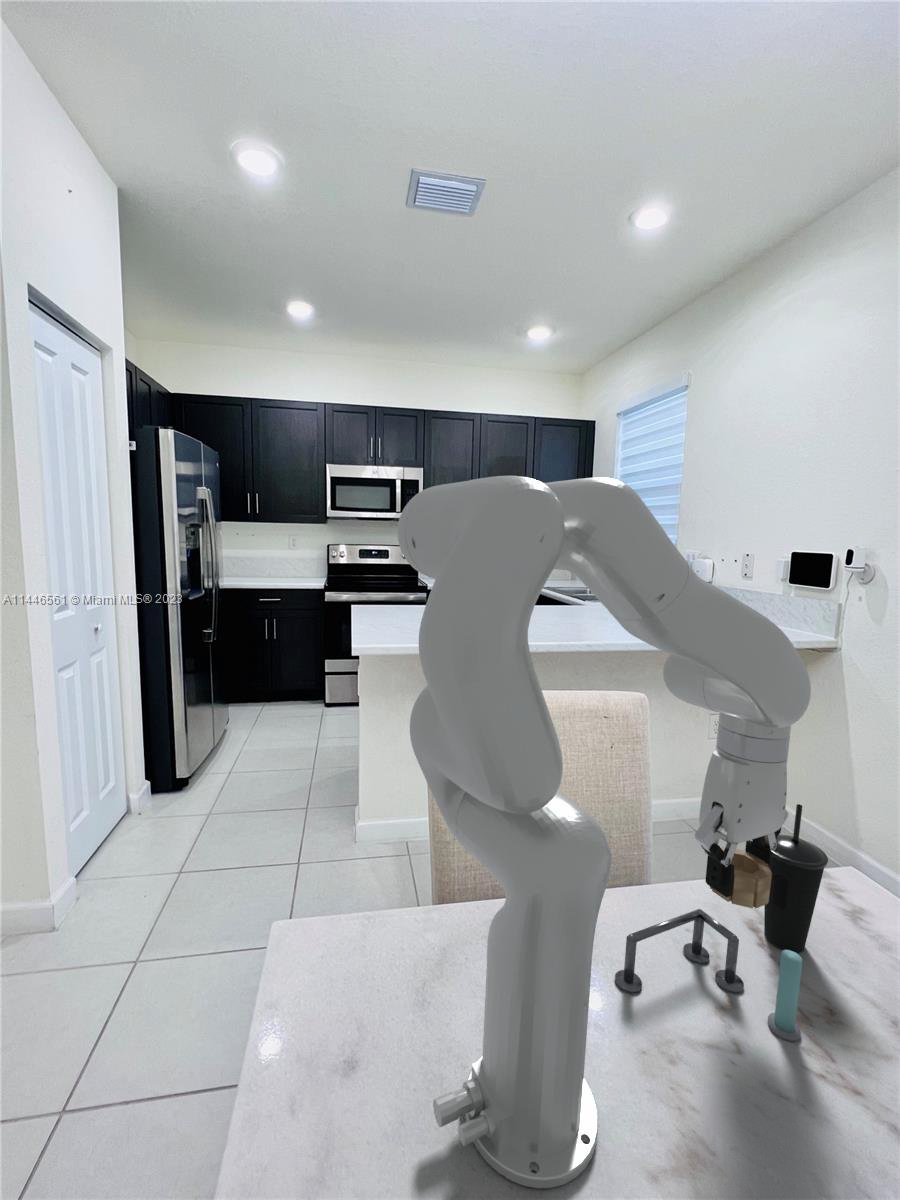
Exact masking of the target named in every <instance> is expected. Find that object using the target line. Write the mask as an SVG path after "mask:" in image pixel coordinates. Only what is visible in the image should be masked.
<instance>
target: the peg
mask: <svg viewBox="0 0 900 1200" xmlns="http://www.w3.org/2000/svg"><path fill="white" fill-rule="evenodd" d="M802 967H803V958H802V956H800V954H799V953H795V952H793V951H790V950H781V955H780V965H779V972H778V981H777V989H776V991H777V992H776V1000H775V1008H774V1012H772V1013H769V1015H768V1016H767V1025H768V1028H769V1029H770V1031H771V1032H772V1033H773V1034H774V1035H776V1036H777V1037H778V1038H780V1039H782V1040H783V1041H786V1042H791V1043H794V1042H798V1041H800V1039H801V1033H802V1031H801V1028H800V1026H799V1025H798V1023H797V1022H796V1020H797V1011H798V1002H799V994H800V985H801V977H802V976H801V975H802V969H803V968H802Z"/></svg>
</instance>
